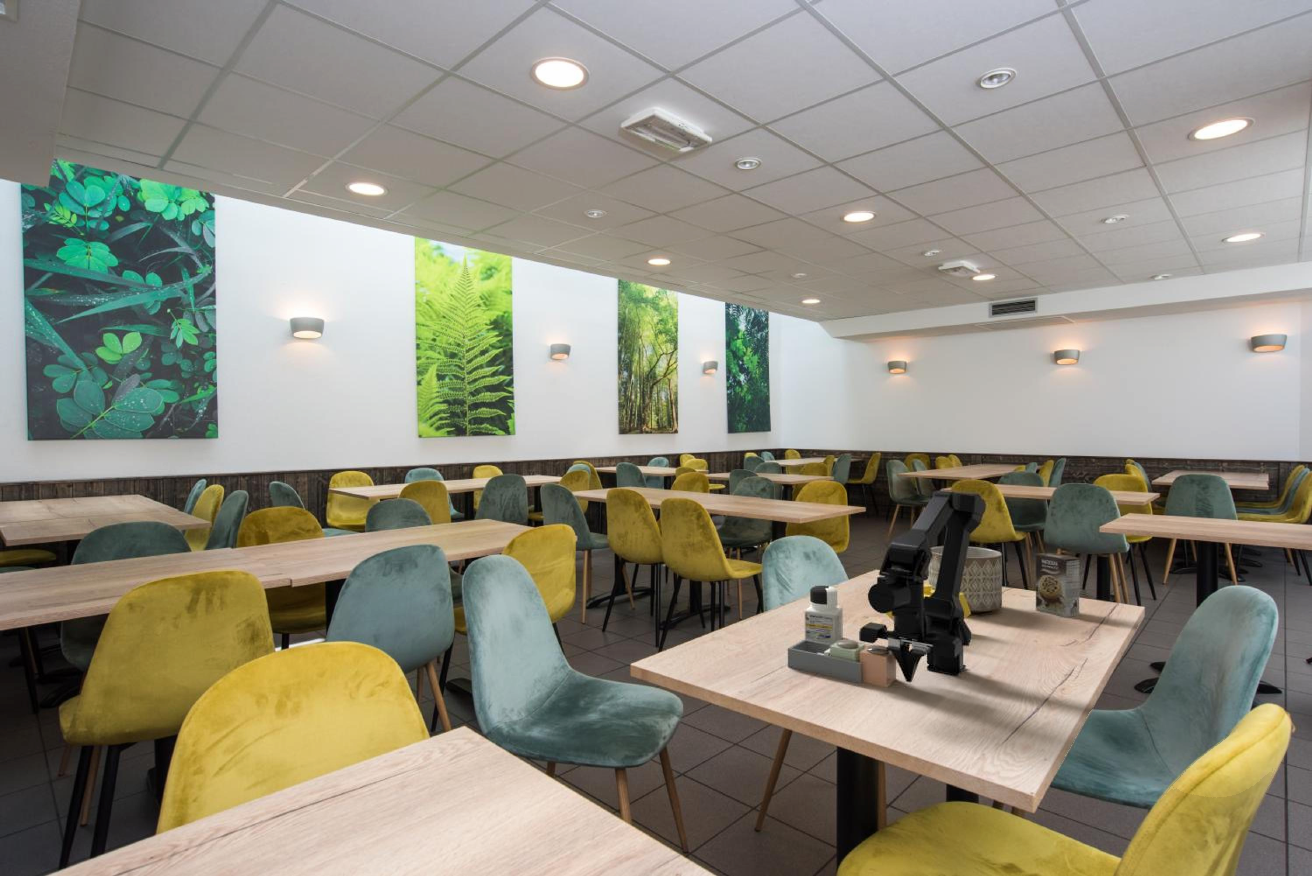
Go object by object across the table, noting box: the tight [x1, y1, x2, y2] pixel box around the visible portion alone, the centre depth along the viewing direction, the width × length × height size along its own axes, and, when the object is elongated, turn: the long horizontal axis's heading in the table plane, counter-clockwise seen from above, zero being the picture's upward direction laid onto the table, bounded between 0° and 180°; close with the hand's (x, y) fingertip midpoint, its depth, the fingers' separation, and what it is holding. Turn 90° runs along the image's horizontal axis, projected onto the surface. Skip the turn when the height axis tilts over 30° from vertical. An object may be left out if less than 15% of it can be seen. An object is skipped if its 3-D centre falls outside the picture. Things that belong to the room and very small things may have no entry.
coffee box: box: [1035, 552, 1081, 618], centre depth 190 cm, size 9×6×16 cm
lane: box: [787, 638, 863, 684], centre depth 146 cm, size 16×8×4 cm, turn 52°
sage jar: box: [830, 639, 866, 663], centre depth 144 cm, size 6×6×7 cm
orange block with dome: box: [860, 644, 897, 687], centre depth 140 cm, size 6×6×7 cm
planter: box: [928, 545, 1003, 614], centre depth 196 cm, size 19×19×16 cm
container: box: [804, 585, 844, 645], centre depth 167 cm, size 8×8×13 cm
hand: (909, 681), depth 136 cm, fingers closed
